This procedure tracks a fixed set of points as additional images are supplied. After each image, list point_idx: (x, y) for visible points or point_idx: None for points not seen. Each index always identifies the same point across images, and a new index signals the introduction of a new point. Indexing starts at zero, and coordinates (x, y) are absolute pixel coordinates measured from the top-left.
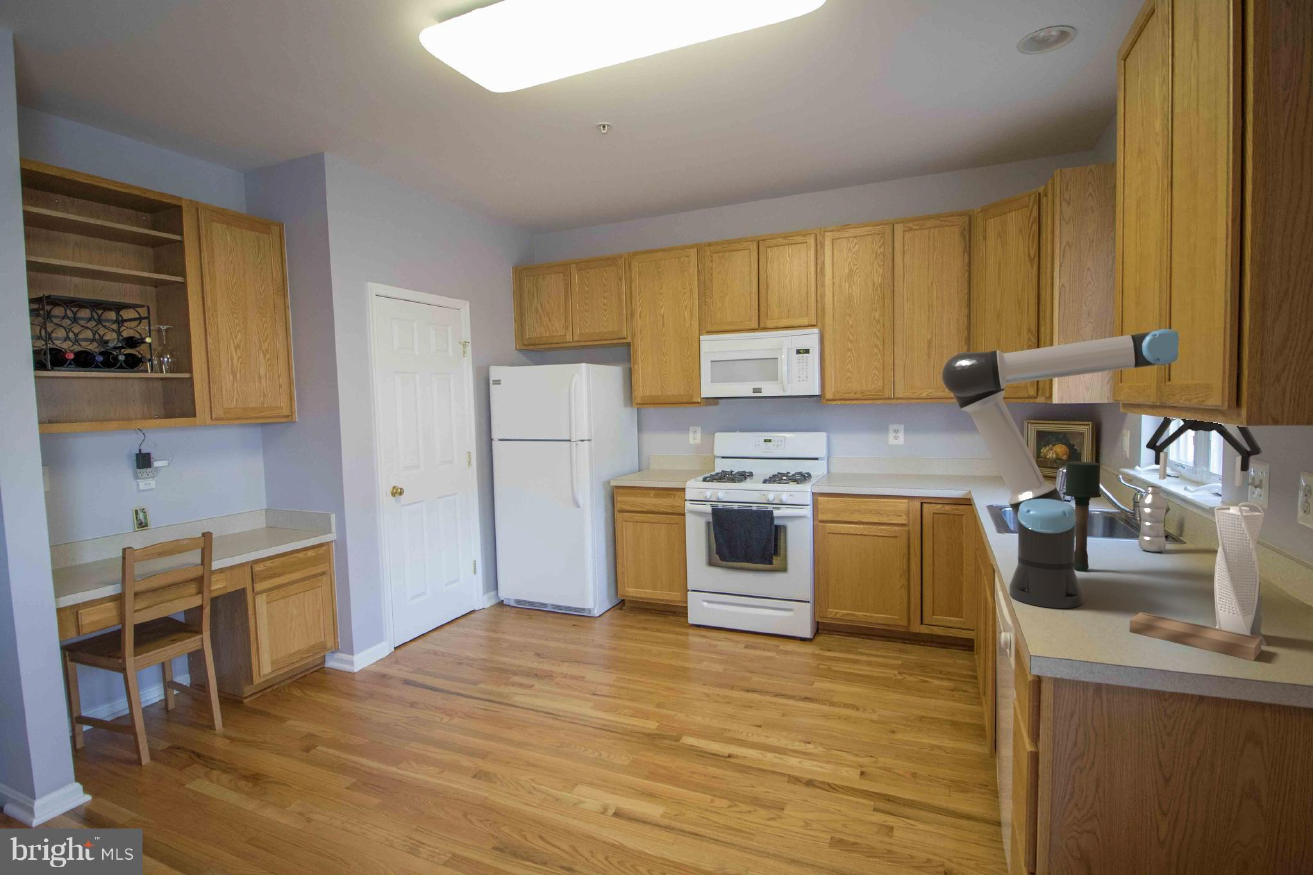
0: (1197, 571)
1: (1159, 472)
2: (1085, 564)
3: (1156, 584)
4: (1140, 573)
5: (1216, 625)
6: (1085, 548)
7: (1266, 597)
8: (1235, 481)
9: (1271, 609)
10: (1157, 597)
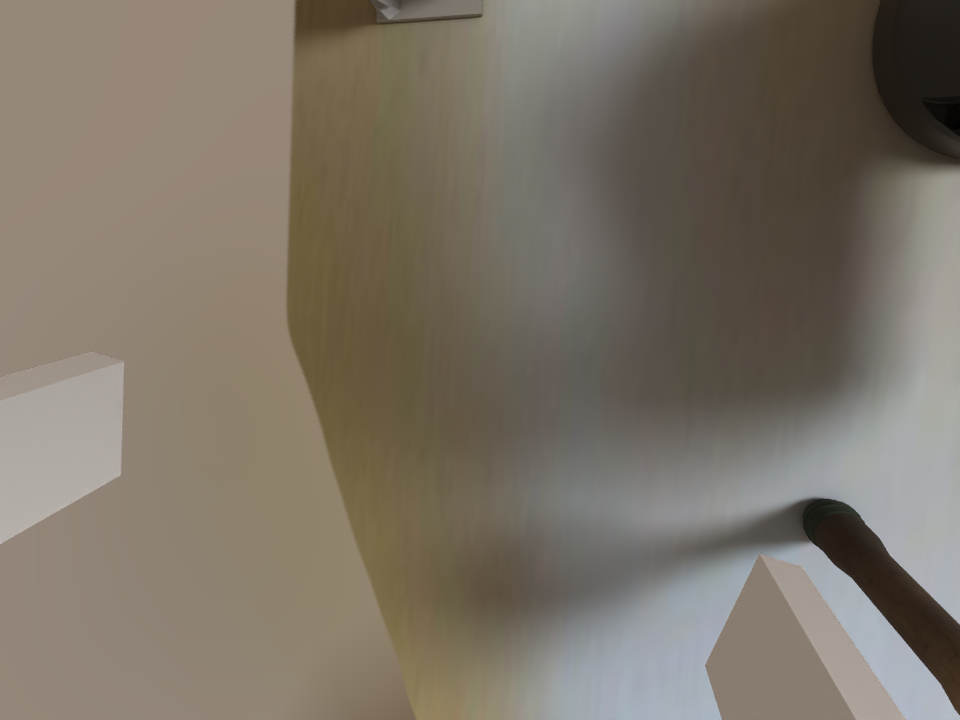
0: (487, 642)
1: (846, 640)
2: (824, 515)
3: (603, 443)
4: (637, 555)
5: (478, 12)
6: (859, 561)
7: (350, 443)
8: (72, 375)
9: (345, 322)
10: (612, 283)
